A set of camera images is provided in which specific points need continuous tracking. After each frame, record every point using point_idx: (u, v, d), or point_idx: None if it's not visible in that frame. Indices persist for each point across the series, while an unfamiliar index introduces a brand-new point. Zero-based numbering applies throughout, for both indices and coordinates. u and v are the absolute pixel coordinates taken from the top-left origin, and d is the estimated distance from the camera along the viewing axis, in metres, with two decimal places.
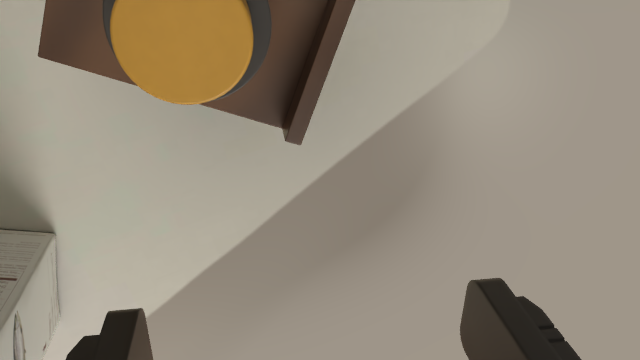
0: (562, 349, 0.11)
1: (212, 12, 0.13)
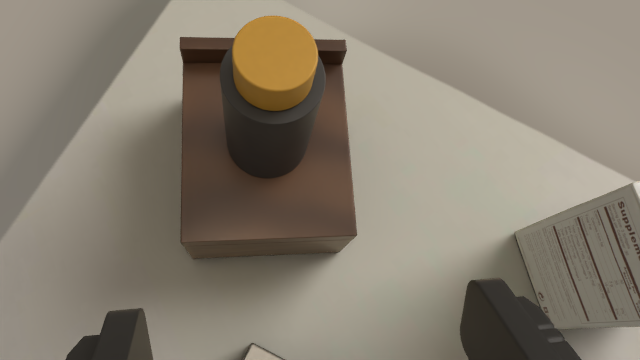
0: (562, 349, 0.11)
1: (254, 40, 0.21)
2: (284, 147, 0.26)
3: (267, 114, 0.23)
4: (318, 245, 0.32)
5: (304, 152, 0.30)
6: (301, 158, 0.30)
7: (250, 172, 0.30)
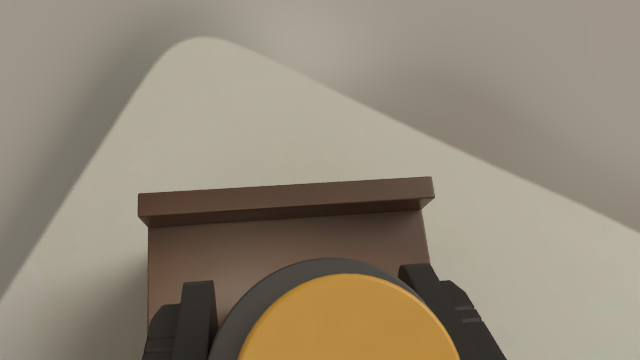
0: (477, 328, 0.11)
1: None
2: None
3: None
4: None
5: None
6: None
7: None
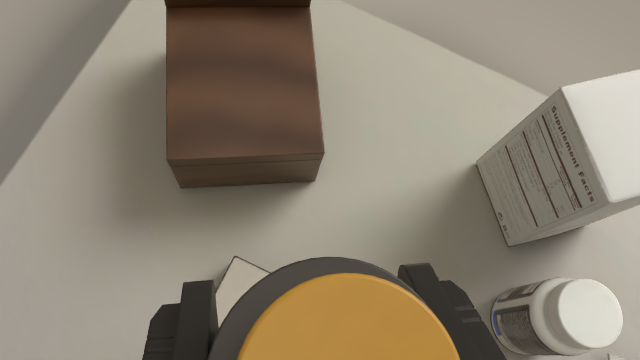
0: (477, 328, 0.11)
1: None
2: None
3: None
4: (292, 168, 0.36)
5: None
6: None
7: None
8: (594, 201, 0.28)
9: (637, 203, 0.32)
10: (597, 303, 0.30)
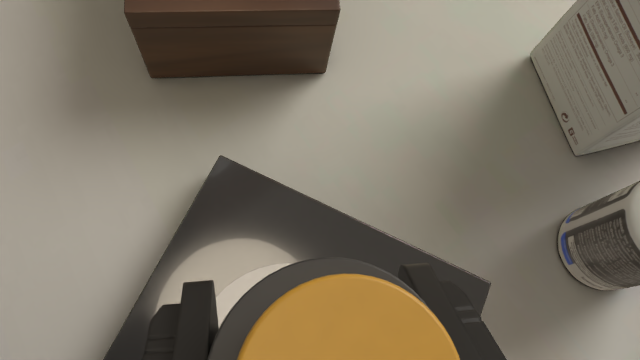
0: (477, 328, 0.11)
1: None
2: None
3: None
4: (297, 43, 0.27)
5: None
6: None
7: None
8: None
9: None
10: None
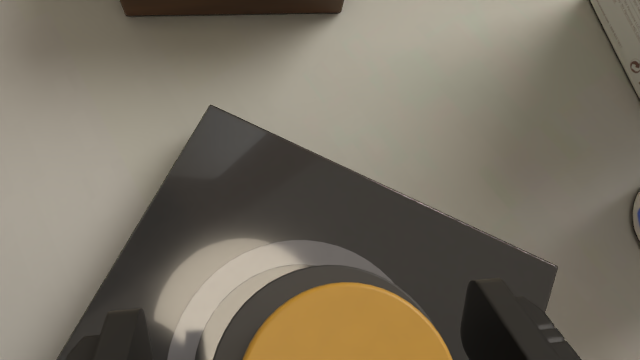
0: (562, 349, 0.11)
1: None
2: None
3: None
4: None
5: None
6: None
7: None
8: None
9: None
10: None
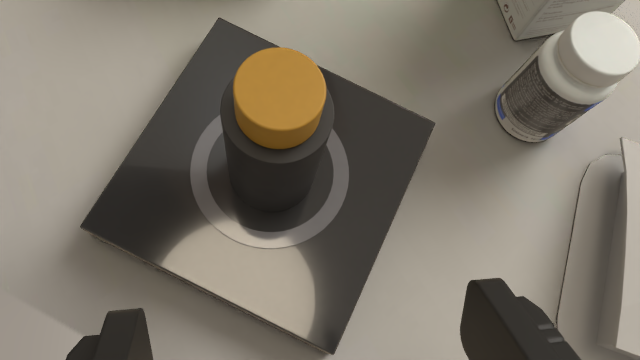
0: (562, 349, 0.11)
1: (256, 75, 0.20)
2: (290, 183, 0.24)
3: (272, 152, 0.21)
4: None
5: (311, 184, 0.28)
6: (308, 190, 0.28)
7: (254, 206, 0.28)
8: None
9: None
10: (614, 34, 0.27)
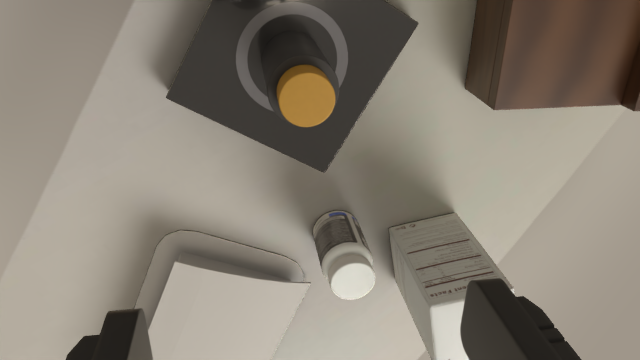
0: (562, 349, 0.11)
1: (315, 86, 0.32)
2: None
3: (274, 87, 0.33)
4: (482, 77, 0.43)
5: None
6: None
7: (264, 49, 0.40)
8: (430, 296, 0.42)
9: (418, 319, 0.46)
10: (358, 286, 0.44)
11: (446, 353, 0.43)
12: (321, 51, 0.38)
